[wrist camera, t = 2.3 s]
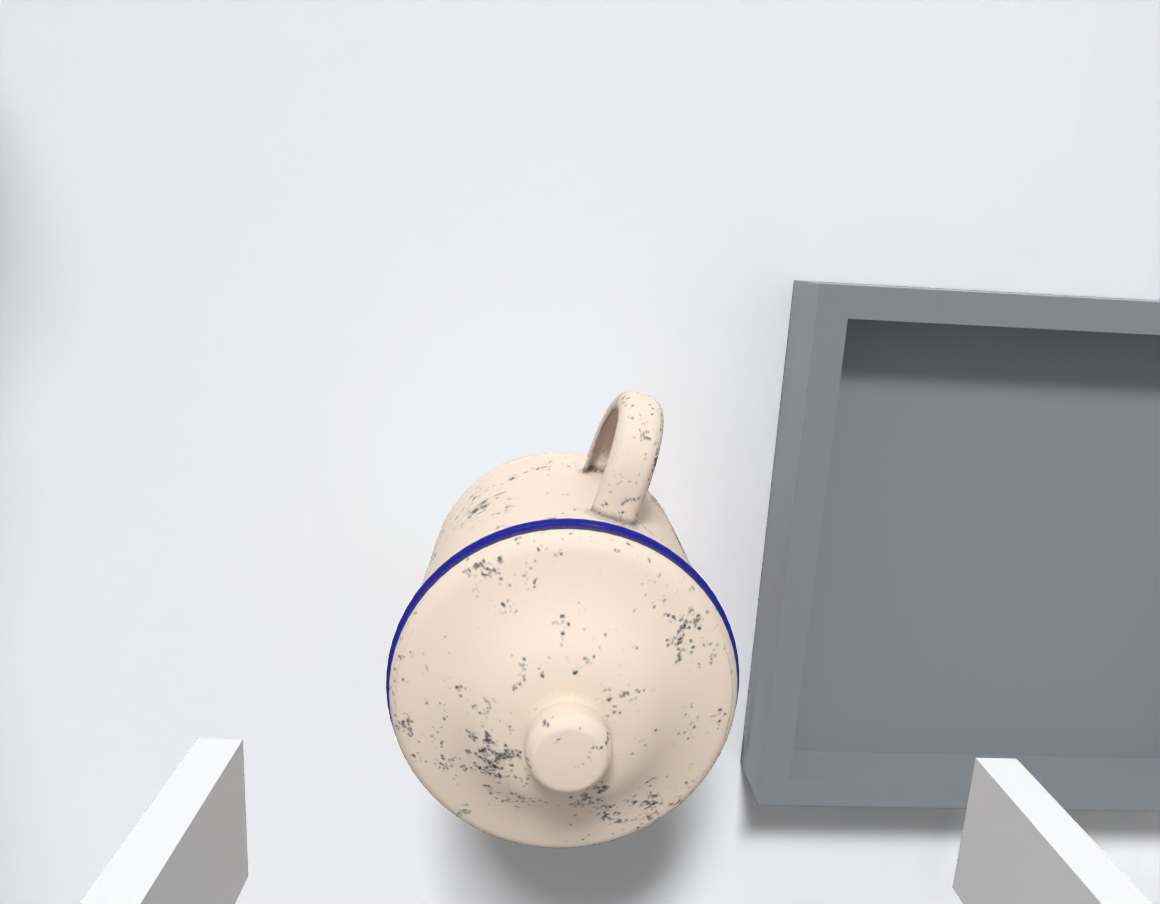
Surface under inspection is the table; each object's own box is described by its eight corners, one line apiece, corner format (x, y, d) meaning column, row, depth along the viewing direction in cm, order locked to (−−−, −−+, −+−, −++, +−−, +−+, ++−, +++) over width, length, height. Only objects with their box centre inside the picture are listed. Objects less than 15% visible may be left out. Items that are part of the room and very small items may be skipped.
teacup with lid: (634, 710, 31) (690, 970, 20) (397, 645, 30) (315, 880, 19) (749, 409, 29) (886, 512, 18) (495, 326, 28) (467, 379, 17)
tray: (740, 761, 32) (757, 804, 30) (793, 280, 28) (819, 283, 25) (1190, 770, 33) (1244, 812, 31) (1306, 308, 29) (1379, 314, 27)
